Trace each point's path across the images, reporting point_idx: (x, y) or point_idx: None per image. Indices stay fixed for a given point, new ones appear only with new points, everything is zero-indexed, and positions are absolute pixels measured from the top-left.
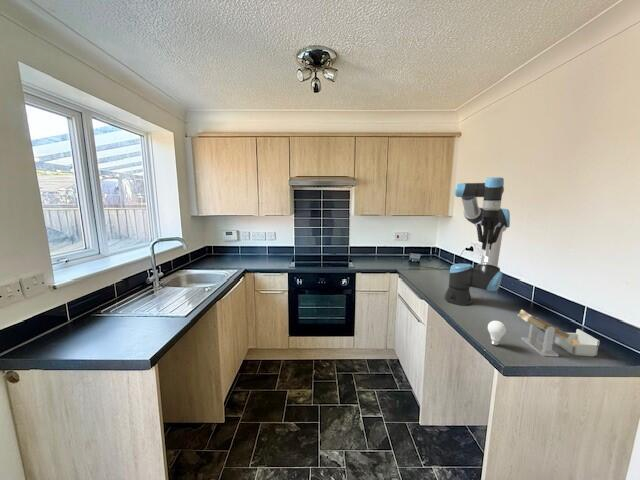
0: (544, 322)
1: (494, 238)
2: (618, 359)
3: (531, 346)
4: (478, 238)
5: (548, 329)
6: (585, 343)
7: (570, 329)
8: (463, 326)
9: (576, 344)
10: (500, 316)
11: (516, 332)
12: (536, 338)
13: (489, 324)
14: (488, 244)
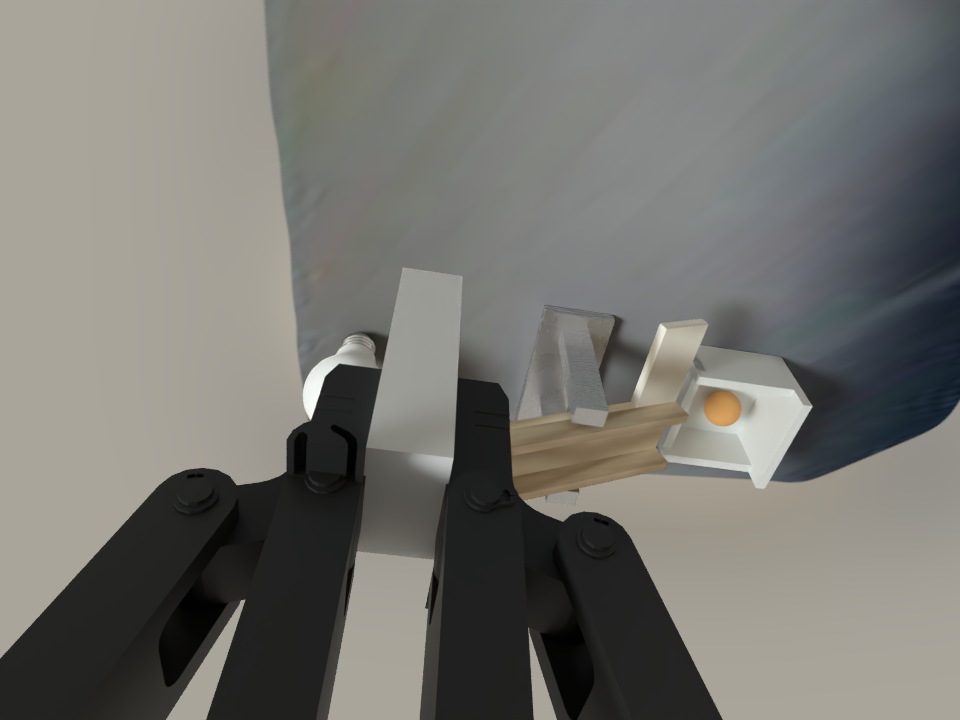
0: (612, 433)
1: (560, 697)
2: (803, 453)
3: (529, 368)
4: (106, 562)
5: (545, 496)
6: (761, 419)
7: (952, 234)
8: (290, 154)
9: (667, 461)
10: (681, 15)
11: (580, 244)
12: (611, 329)
13: (305, 397)
14: (398, 545)
